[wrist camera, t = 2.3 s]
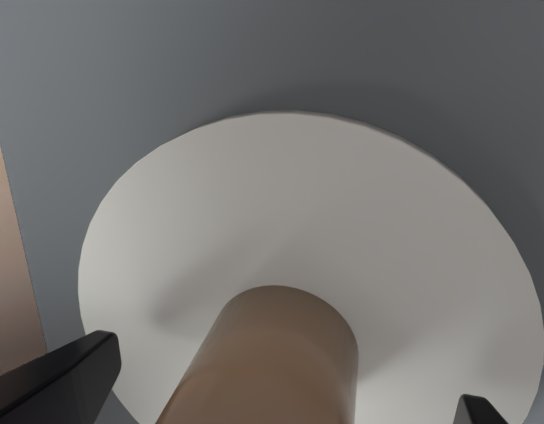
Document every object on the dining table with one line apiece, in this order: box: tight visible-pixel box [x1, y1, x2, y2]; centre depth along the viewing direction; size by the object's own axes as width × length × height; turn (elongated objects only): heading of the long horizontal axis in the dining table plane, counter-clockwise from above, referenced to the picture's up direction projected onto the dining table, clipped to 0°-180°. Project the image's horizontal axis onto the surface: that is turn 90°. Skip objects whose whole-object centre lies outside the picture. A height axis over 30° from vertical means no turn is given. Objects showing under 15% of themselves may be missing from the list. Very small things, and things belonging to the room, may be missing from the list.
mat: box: [0, 0, 544, 424], centre depth 10 cm, size 14×14×1 cm
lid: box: [78, 110, 544, 424], centre depth 8 cm, size 10×10×5 cm
